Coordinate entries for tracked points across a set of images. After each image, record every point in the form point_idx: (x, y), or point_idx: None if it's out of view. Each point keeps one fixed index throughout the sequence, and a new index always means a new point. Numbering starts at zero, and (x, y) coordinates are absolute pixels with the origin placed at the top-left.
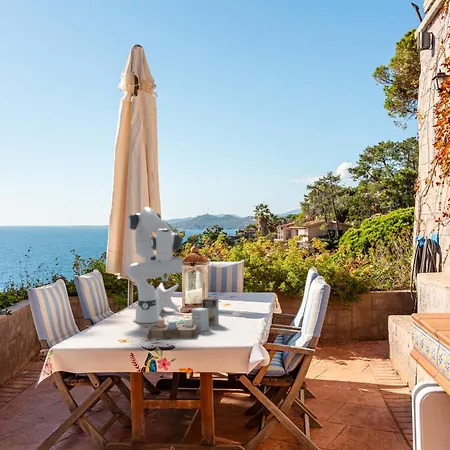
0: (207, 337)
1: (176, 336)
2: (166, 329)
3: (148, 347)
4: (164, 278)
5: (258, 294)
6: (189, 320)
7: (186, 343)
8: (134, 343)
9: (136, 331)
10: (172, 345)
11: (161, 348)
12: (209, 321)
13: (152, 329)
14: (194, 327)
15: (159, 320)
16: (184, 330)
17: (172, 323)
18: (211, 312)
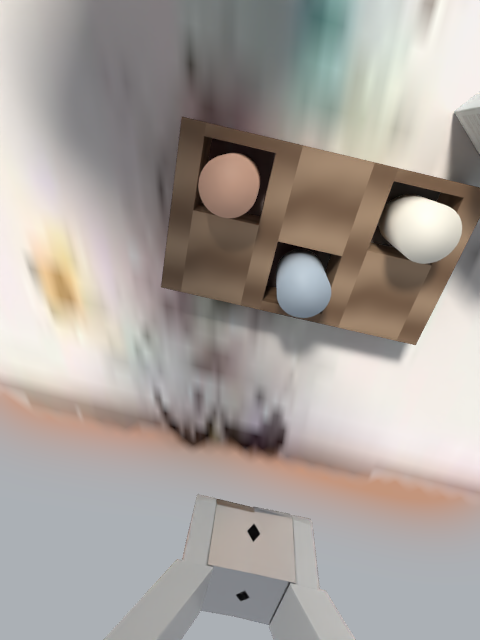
0: (465, 332)
1: None
2: (263, 293)
3: (184, 421)
4: (227, 610)
5: None
6: (431, 262)
7: (337, 406)
8: (119, 349)
9: (72, 37)
10: (276, 419)
11: (232, 445)
12: None
13: (183, 270)
14: (436, 285)
15: (219, 205)
16: (360, 330)
17: (300, 315)
18: None
